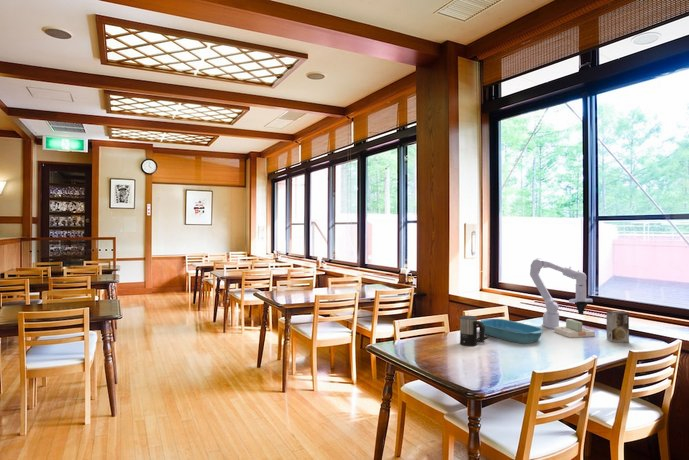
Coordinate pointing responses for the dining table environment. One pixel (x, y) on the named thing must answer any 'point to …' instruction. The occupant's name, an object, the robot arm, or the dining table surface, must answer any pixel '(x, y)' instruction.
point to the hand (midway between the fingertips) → (580, 314)
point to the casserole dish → (511, 330)
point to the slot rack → (574, 332)
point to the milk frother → (471, 331)
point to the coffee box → (618, 326)
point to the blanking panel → (574, 325)
